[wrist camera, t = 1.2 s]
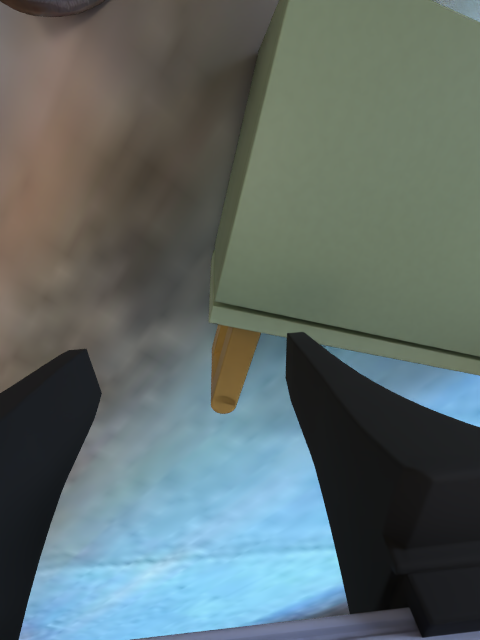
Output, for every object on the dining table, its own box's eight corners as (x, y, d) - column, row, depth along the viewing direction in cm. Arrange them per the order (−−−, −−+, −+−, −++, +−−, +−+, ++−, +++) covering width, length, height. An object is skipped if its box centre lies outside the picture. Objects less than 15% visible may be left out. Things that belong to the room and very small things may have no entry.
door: (379, 375, 25) (445, 463, 18) (192, 340, 23) (182, 429, 15) (423, 300, 22) (524, 370, 15) (213, 249, 19) (212, 305, 12)
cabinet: (423, 296, 22) (530, 367, 15) (214, 245, 19) (213, 301, 12) (512, 143, 18) (729, 133, 10) (258, 49, 15) (302, -60, 8)
